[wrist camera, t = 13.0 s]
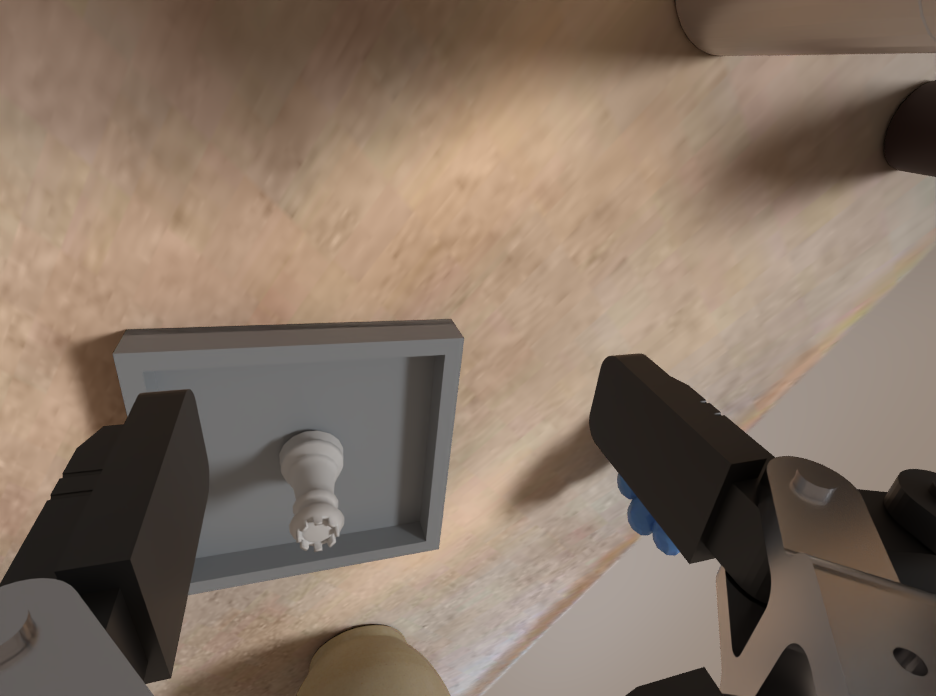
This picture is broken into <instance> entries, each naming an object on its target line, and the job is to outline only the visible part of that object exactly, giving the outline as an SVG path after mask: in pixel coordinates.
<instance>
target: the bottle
mask: <svg viewBox="0 0 936 696" xmlns="http://www.w3.org/2000/svg"><path fill="white" fill-rule="evenodd" d="M884 150H885V158H886V160H887V162H888V164H889V165H890V166H892V167H893V168H895V169H896V170H899V171H905V172H911V173H917V174H922V175H928V176H934V177H936V80H935V81H932V82H929V83H926V84H923V85H922V86H921V87H919V88H918V89H917V90H915V91H914V92H913V93H911V94H910V95H909V97H908V98H907V99H906V100H905V101H904V102H903V103H902V104H901V105H900V107H899V109H898V110H897V112H896V113H895V115H894V116H893V118H892V120H891V123H890V125H889V127H888V130H887V133H886V138H885V143H884Z"/></svg>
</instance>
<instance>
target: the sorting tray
mask: <svg viewBox="0 0 936 696" xmlns="http://www.w3.org/2000/svg"><path fill="white" fill-rule="evenodd" d="M463 343H464V337H463V336H462V334H461V333H460V331H459V330H458V328H457V327H456V325H455V324H454V322H453V321H452V319H442V320H411V321H380V322H348V323H317V324H286V325H255V326H224V327H193V328H161V329H130V330H126V331H125V333H124V335H123V337H122V338H121V340H120V342H119V344H118V345H117V347H116V349H115V351H114V352H113V358H114V362H115V366H116V370H117V374H118V379H119V383H120V387H121V391H122V396H123V400H124V404H125V408H126V412H127V417H128V415H129V413H130V411H131V409H132V406H133V404H134V402H135V400H136V398H137V396H138V395H139V394H140V393H145V392H158V391H170V390H182V389H191V390H192V392H193V394H194V396H195V400H196V404H197V409H198V414H199V419H200V423H201V428H202V433H203V438H204V442H205V447H206V452H207V457H208V463H209V493H208V499H207V504H206V509H205V514H204V519H203V523H202V528H201V533H200V538H199V543H198V548H197V553H196V558H195V563H194V568H193V573H192V578H191V582H190V587H189V592H188V595H192V594H197V593H203V592H208V591H214V590H219V589H225V588H230V587H235V586H241V585H246V584H252V583H257V582H263V581H268V580H273V579H279V578H284V577H290V576H295V575H301V574H306V573H311V572H317V571H322V570H328V569H333V568H339V567H344V566H349V565H355V564H360V563H366V562H371V561H377V560H382V559H387V558H393V557H398V556H404V555H409V554H415V553H420V552H425V551H431V550H436V549H439V543H440V535H441V527H442V518H443V510H444V502H445V493H446V485H447V476H448V468H449V460H450V451H451V443H452V435H453V426H454V418H455V410H456V401H457V393H458V385H459V376H460V368H461V360H462V351H463ZM315 430H317V431H321V432H326V433H330V434H331V435H333V436H334V437H336V438H337V439H338V440H339V441H340V443H341V445H342V447H343V456H344V457H343V468H342V470H341V472H340V474H339V476H338V478H337V480H336V481H335V485H334V495H335V496H336V498H337V499H338V508H337V509H339V510H340V511H341V512H342V514H343V516H344V526H343V527H342V529H341V531H340V534H339V537H336V543H335V544H334V545H333V546H331V547H329V546H328V544H327V543H325V544H323V545H322V550H323V551H318V552H314V546H309V548H308V550H307V551H305V550H303V549H301V548H300V542H299V543H296V540H295V539H294V538H293V536H292V535H291V534H290V530H289V524H290V522H291V520H292V518H293V517H294V516H295V515H294V514H293V505H294V503H295V501H296V499H295V494H294V490H293V488H292V487H291V486H290V484H288V483H287V481H286V480H285V478H284V477H283V475H282V473H281V466H280V458H279V454H280V452H281V450H282V448H283V445H284V444H285V443H286V442H287V441H289V440H290V439H291V438H292V437H293V436H295V435H298V434H300V433H303V432H305V431H315Z"/></svg>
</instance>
